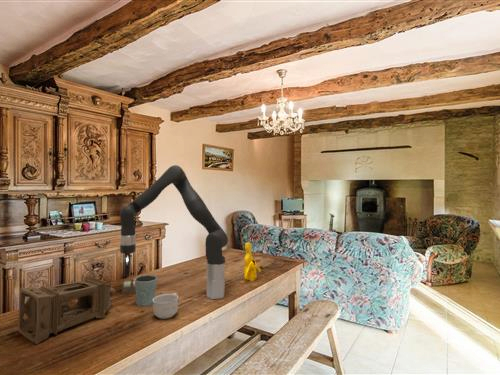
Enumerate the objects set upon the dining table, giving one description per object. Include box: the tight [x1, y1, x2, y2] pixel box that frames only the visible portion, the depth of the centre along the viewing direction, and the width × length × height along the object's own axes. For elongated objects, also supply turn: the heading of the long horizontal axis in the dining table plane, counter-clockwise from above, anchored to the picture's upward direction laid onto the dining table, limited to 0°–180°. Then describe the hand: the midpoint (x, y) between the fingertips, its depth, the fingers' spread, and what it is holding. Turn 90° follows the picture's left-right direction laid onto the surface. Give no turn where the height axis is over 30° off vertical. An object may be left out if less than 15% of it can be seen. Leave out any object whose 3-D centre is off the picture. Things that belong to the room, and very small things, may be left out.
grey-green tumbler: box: [134, 274, 158, 307], centre depth 144 cm, size 10×10×12 cm
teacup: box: [152, 292, 179, 320], centre depth 132 cm, size 14×11×8 cm
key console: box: [121, 277, 136, 294], centre depth 163 cm, size 12×14×4 cm
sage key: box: [124, 281, 131, 287], centre depth 159 cm, size 5×3×2 cm
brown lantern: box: [17, 274, 117, 345], centre depth 124 cm, size 35×18×18 cm, turn 146°
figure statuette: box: [243, 242, 262, 282], centre depth 182 cm, size 18×8×22 cm, turn 147°
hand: (127, 275), depth 159 cm, fingers closed
